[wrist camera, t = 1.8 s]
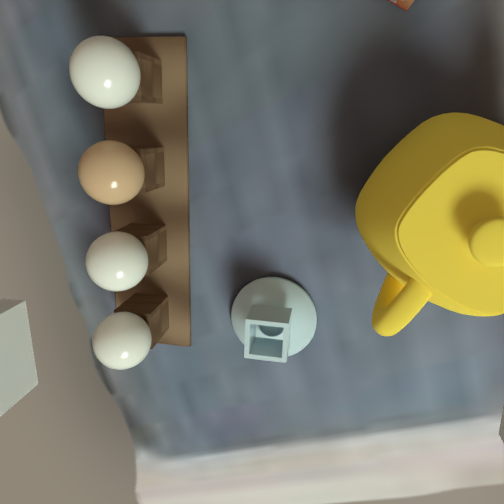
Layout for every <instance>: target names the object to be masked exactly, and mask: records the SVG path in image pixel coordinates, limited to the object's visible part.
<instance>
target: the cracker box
mask: <svg viewBox="0 0 504 504" xmlns="http://www.w3.org/2000/svg"><path fill="white" fill-rule="evenodd" d="M388 1H390V2H391V3H393V4H395V5H396V6H398V7H400V8H402V9H404V10H408V9H409V7H410V6H411V4H412V3H413V2H414V0H388Z"/></svg>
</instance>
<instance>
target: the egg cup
mask: <svg viewBox="0 0 504 504" xmlns="http://www.w3.org/2000/svg"><path fill="white" fill-rule="evenodd" d="M231 320H232V325H233V328H234V331H235V333H236V335H237V336H238V338H239V339H240V340H241V342H242V343H243V344H244V345H245V356H244V358H250V359H259V360H267V361H276V362H284V363H287V358H288V356H290V355H293V354H295V353H298V352H299V351H301V350H302V349H303V348H304V347H306V346H307V344H308V343H309V342H310V341H311V339H312V337H313V335H314V333H315V329H316V323H317V314H316V309H315V305H314V303H313V301H312V299H311V297H310V296H309V294H308V293H307V292H306V291H305V290H304V289H303V288H302V287H301V286H300V285H298V284H297V283H295V282H293V281H291V280H289V279H286V278H282V277H276V276H268V277H262V278H258V279H256V280H253V281H251V282H250V283H248V284H247V285H245V286H244V287H243V288H242V289H241V291H240V292H239V293H238V295H237V297H236V298H235V300H234V303H233V306H232V311H231Z"/></svg>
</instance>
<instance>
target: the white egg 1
mask: <svg viewBox="0 0 504 504" xmlns="http://www.w3.org/2000/svg"><path fill="white" fill-rule="evenodd" d="M69 73H70V78H71V81H72V83H73V85H74V87H75V89H76V91H77V92H78V93H79V95H80V96H81V97H82V98H83V99H85V100H86V101H87V102H89V103H90V104H92V105H94V106H97V107H100V108H105V109H114V108H119V107H121V106H124V105H125V104H127V103H128V102H130V101H131V100H132V99H133V98H134V96H135V95H136V93H137V91H138V89H139V86H140V80H141V73H140V67H139V64H138V61H137V59H136V57H135V56H134V54H133V52H132V51H131V50H130V49H129V48H128V47H127V46H126V45H125V44H124V43H122V42H121V41H119V40H117V39H115V38H112V37H109V36H93V37H89V38H87V39H85V40H83V41H82V42H81V43H79V44H78V45H77V47H76V48H75V49H74V51H73V53H72V55H71V58H70V63H69Z"/></svg>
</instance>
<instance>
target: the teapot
mask: <svg viewBox="0 0 504 504" xmlns="http://www.w3.org/2000/svg"><path fill="white" fill-rule="evenodd" d="M355 217H356V222H357V226H358V229H359V232H360V234H361V236H362V238H363V239H364V241H365V243H366V245H367V246H368V248H369V250H370V251H371V253H372V254H373V255H374V257H375V258H376V259H377V261H378V262H379V263H380V264H381V265H382V266H383V268H384V269H385V270H386V271H387V272H388V274H387V276H386V278H385V281H384V283H383V285H382V288H381V290H380V293H379V295H378V298H377V300H376V303H375V306H374V310H373V314H372V325H373V328H374V330H375V331H376V332H377V333H379V334H380V335H382V336H392V335H394V334H396V333H398V332H399V331H400V330H401V329H402V328H404V327H405V326H406V325H407V324H408V323H409V322H410V321H411V320H412V319H413V317H414V316H415V315H416V314H417V313H418V312H419V311H420V310H421V308H422V307H423V306H424V305H425V304H426V302H427V301H430V302H432V303H434V304H436V305H439V306H441V307H443V308H446V309H448V310H451V311H454V312H457V313H461V314H466V315H472V316H495V315H500V314H503V313H504V126H503V125H501V124H499V123H496V122H494V121H491V120H488V119H486V118H483V117H479V116H476V115H472V114H468V113H457V112H453V113H445V114H440V115H437V116H434V117H432V118H430V119H428V120H426V121H424V122H422V123H421V124H420V125H419V126H417V127H416V128H415V129H414V130H412V131H411V132H410V133H409V134H408V135H406V136H405V137H404V138H403V139H402V140H401V141H400V142H399V143H398V144H397V145H396V146H395V147H394V148H393V149H392V150H391V151H390V152H389V153H388V154H387V155H386V156H385V157H384V159H383V160H382V161H381V162H380V164H379V165H378V166H377V167H376V169H375V170H374V172H373V173H372V174H371V176H370V177H369V179H368V180H367V182H366V183H365V185H364V187H363V188H362V190H361V192H360V194H359V196H358V199H357V202H356V208H355Z"/></svg>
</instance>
